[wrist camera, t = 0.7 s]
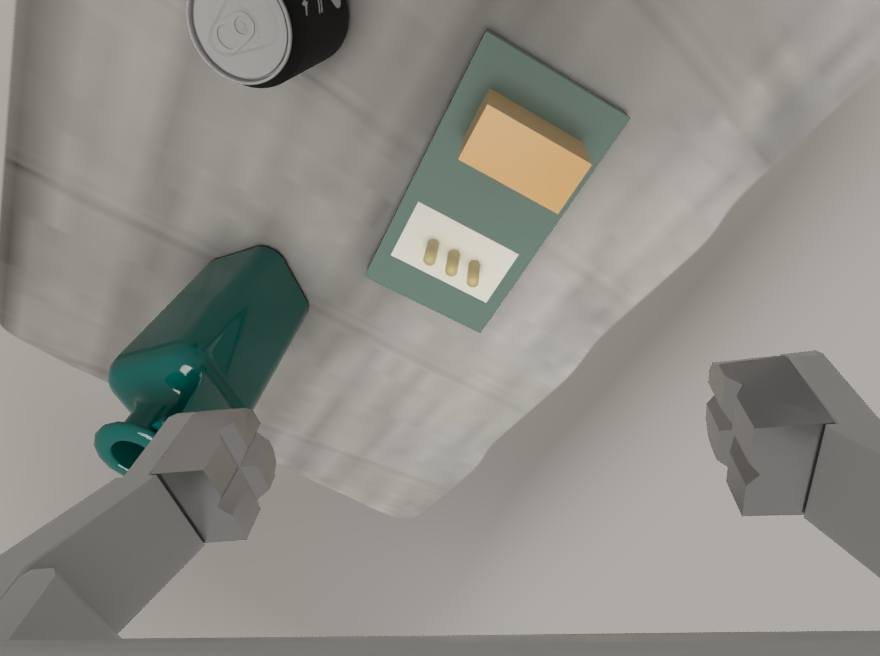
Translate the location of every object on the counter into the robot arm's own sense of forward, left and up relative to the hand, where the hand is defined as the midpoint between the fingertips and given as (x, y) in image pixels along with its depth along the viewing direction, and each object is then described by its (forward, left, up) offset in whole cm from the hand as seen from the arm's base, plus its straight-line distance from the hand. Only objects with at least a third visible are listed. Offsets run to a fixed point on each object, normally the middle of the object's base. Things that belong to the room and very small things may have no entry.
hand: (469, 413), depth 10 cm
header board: (+9, +4, -36) cm, 38 cm away
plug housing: (+3, +4, -35) cm, 35 cm away
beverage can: (+3, -14, -37) cm, 39 cm away
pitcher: (+27, -10, -37) cm, 47 cm away
